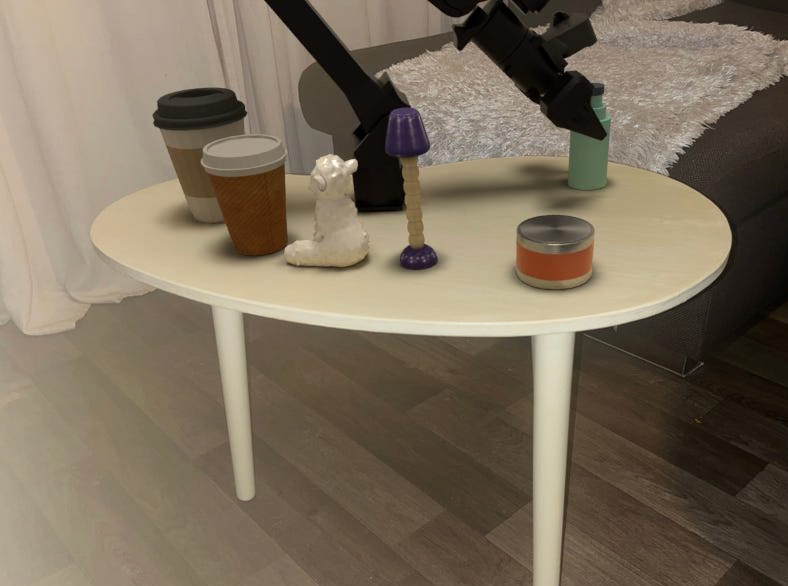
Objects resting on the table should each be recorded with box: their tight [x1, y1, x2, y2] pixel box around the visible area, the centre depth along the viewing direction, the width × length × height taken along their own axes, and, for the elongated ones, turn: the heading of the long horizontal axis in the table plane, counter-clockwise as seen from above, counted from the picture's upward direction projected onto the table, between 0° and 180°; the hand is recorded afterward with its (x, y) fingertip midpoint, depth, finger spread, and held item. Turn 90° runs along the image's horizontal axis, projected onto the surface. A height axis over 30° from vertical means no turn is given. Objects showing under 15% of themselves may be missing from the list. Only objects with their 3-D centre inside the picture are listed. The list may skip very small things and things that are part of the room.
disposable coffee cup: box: [201, 133, 288, 256], centre depth 87 cm, size 10×10×12 cm
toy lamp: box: [385, 107, 438, 270], centre depth 80 cm, size 5×5×17 cm
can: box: [515, 214, 596, 290], centre depth 80 cm, size 8×8×5 cm
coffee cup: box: [152, 87, 249, 224], centre depth 96 cm, size 11×11×15 cm
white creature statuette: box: [284, 153, 371, 268], centre depth 83 cm, size 10×9×12 cm
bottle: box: [567, 82, 612, 191], centre depth 100 cm, size 5×5×13 cm
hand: (593, 127), depth 100 cm, fingers open, 9 cm apart
